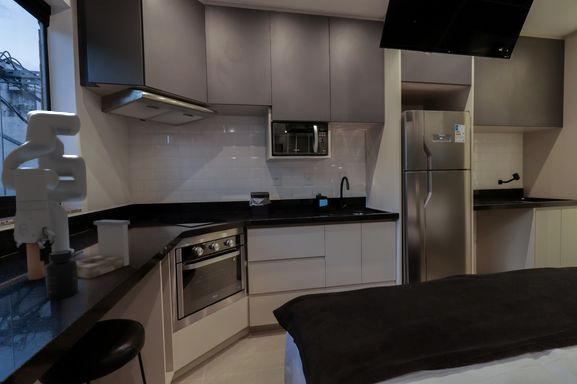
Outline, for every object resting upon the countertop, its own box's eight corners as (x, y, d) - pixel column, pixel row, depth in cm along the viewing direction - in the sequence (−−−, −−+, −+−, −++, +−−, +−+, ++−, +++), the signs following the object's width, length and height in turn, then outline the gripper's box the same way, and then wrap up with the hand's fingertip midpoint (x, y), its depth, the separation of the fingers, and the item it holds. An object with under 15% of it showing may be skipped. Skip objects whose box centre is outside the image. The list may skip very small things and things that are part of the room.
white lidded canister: (95, 264, 105) (93, 221, 104) (106, 261, 109) (104, 219, 109) (121, 267, 102) (119, 222, 101) (131, 263, 106) (129, 220, 105)
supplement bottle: (67, 289, 82) (64, 248, 81) (84, 291, 80) (82, 249, 79) (40, 298, 75) (37, 254, 75) (58, 301, 74) (56, 256, 73)
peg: (25, 279, 91) (23, 242, 90) (39, 275, 94) (37, 239, 94) (34, 280, 89) (31, 242, 89) (48, 276, 93) (45, 240, 93)
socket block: (63, 275, 94) (62, 264, 94) (96, 264, 106) (96, 255, 105) (90, 278, 91) (90, 267, 90) (122, 266, 102) (121, 257, 102)
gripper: (-1, 207, 89) (2, 261, 90) (38, 207, 85) (41, 264, 85) (27, 205, 97) (29, 255, 97) (64, 205, 92) (67, 257, 92)
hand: (35, 259), depth 91 cm, fingers open, 9 cm apart
